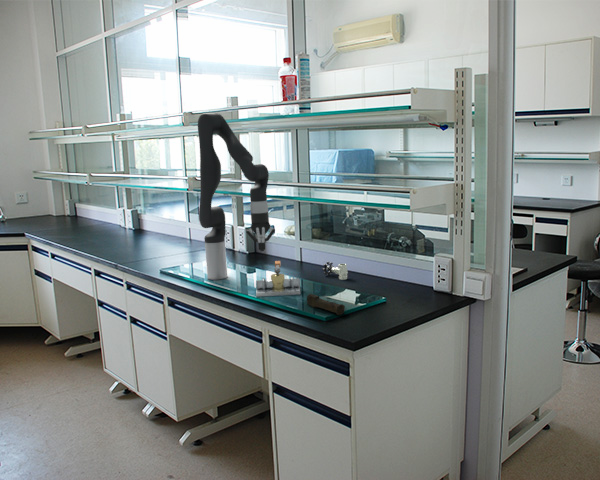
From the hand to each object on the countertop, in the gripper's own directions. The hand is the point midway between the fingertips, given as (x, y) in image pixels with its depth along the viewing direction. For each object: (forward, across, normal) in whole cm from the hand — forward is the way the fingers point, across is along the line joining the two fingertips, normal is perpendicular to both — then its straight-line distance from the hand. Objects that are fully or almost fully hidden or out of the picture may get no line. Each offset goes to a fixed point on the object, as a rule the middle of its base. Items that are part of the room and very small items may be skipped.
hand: (262, 250), depth 239 cm
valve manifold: (+15, -6, +12) cm, 21 cm away
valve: (+16, -32, -6) cm, 37 cm away
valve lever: (+7, -6, +6) cm, 11 cm away
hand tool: (+16, -23, +39) cm, 49 cm away
